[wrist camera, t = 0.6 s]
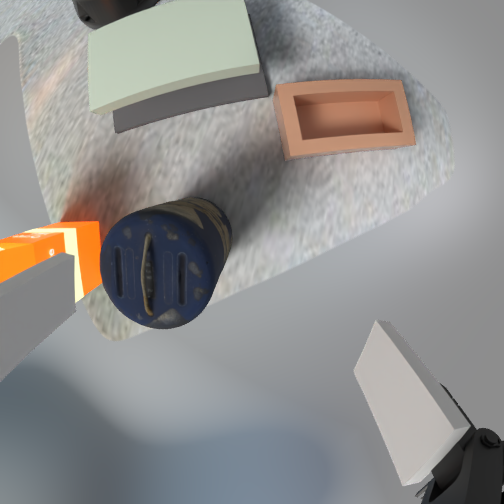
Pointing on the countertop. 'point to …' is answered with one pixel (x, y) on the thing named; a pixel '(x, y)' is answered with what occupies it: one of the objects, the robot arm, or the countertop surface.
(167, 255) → the canister
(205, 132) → the countertop surface
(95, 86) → the board
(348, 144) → the dish
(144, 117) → the mat stand
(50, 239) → the orange juice
